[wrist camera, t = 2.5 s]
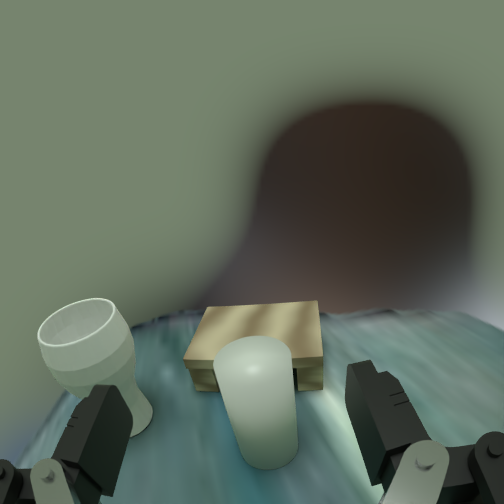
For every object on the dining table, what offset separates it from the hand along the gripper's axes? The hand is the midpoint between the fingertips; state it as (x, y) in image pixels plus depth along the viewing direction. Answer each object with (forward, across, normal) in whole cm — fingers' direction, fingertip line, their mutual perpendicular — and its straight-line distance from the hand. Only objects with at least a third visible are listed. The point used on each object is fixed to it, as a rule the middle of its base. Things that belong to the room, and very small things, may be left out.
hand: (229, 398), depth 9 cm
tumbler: (+11, 0, +21) cm, 23 cm away
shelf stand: (+25, 0, +20) cm, 33 cm away
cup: (+16, +18, +21) cm, 32 cm away
